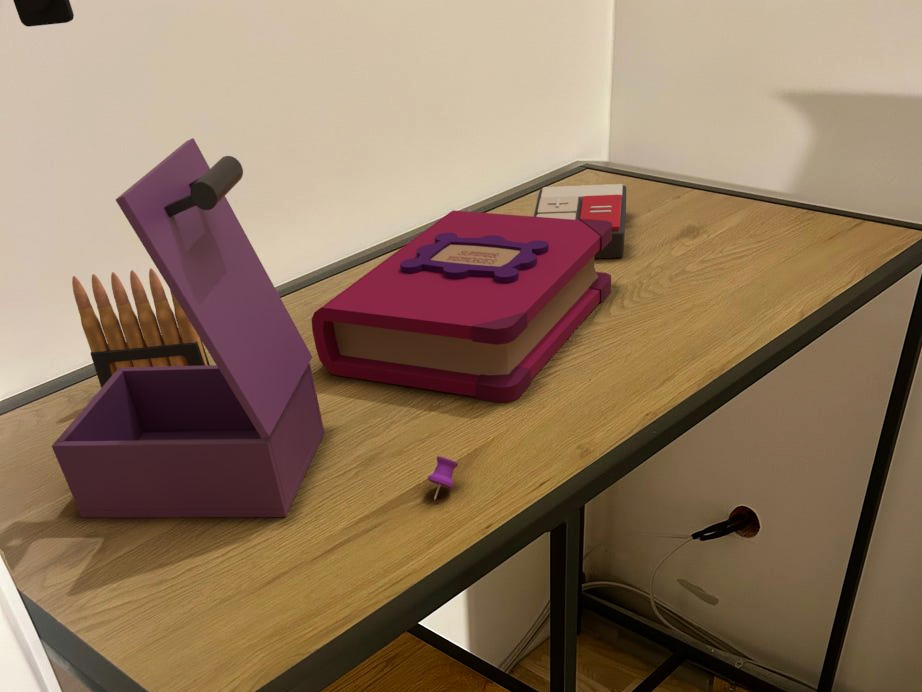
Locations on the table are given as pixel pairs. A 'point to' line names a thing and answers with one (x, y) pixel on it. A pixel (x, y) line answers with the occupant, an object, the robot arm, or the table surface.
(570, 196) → the calculator
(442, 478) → the pushpin
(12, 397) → the table surface
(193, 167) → the lid
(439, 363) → the book
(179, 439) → the box
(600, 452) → the table surface
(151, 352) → the ammunition clip
